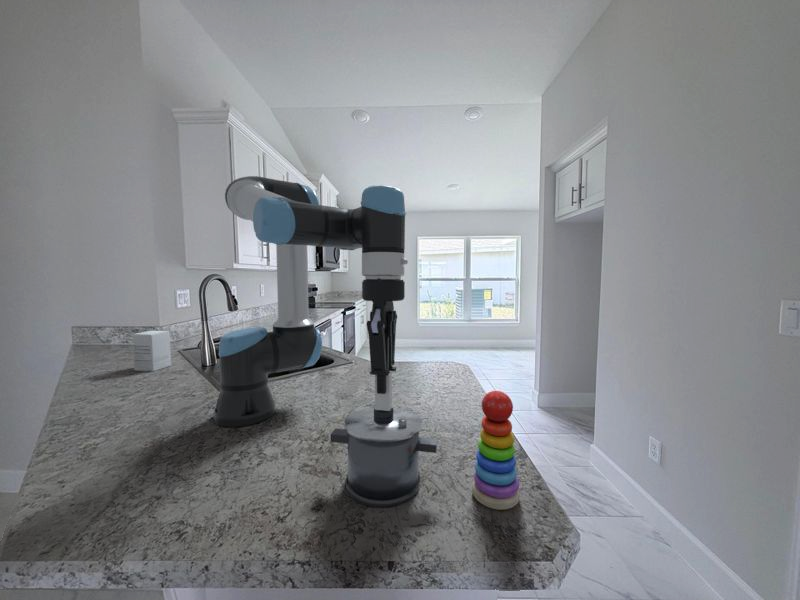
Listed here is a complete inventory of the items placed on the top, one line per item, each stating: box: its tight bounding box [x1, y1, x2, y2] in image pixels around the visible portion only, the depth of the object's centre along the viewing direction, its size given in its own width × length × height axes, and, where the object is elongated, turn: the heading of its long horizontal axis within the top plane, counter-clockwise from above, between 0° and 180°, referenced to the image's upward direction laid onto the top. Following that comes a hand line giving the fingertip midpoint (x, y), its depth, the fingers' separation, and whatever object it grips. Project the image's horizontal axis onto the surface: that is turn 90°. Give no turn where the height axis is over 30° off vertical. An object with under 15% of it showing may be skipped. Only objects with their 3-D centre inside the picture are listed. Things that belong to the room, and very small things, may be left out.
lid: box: [344, 407, 423, 442], centre depth 60 cm, size 14×15×4 cm
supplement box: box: [131, 330, 172, 372], centre depth 134 cm, size 9×9×15 cm
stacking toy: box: [471, 390, 521, 511], centre depth 56 cm, size 8×8×19 cm
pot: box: [330, 428, 438, 509], centre depth 60 cm, size 20×14×10 cm
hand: (383, 408), depth 59 cm, fingers closed
